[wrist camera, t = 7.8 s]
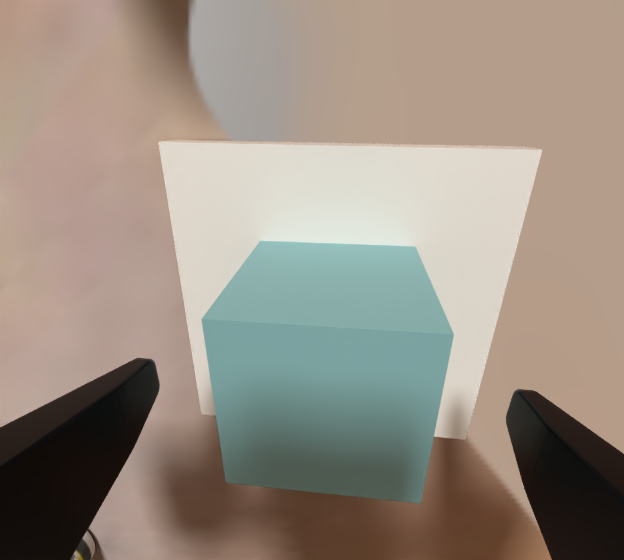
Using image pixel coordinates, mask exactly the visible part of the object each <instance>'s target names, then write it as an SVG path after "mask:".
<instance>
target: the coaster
mask: <svg viewBox="0 0 624 560" xmlns="http://www.w3.org/2000/svg"><path fill="white" fill-rule="evenodd" d="M159 148H160V155H161V161H162V167H163V174H164V180H165V186H166V193H167V199H168V205H169V211H170V218H171V224H172V230H173V237H174V243H175V249H176V256H177V262H178V268H179V275H180V281H181V287H182V293H183V300H184V306H185V312H186V319H187V325H188V331H189V338H190V344H191V350H192V357H193V363H194V369H195V375H196V382H197V388H198V394H199V401H200V407H201V413H202V414H203V415H213V416H216V414H215V407H214V400H213V394H212V387H211V380H210V374H209V367H208V360H207V354H206V347H205V340H204V334H203V327H202V320H201V319H202V318H203V316H204V315H205V314H206V312H207V311H208V310H209V308H210V307H211V306H212V304H213V303H214V302H215V300H216V299H217V298H218V296H219V295H220V294H221V292H222V291H223V290H224V288H225V287H226V286H227V284H228V283H229V282H230V280H231V279H232V278H233V276H234V275H235V274H236V272H237V271H238V270H239V268H240V267H241V266H242V264H243V263H244V262H245V260H246V259H247V258H248V256H249V255H250V254H251V252H252V251H253V250H254V248H255V247H256V246H257V244H258V243H259V242H260V241H282V242H309V243H336V244H363V245H390V246H415V247H416V249H417V251H418V253H419V256H420V258H421V260H422V263H423V265H424V267H425V269H426V272H427V274H428V276H429V278H430V281H431V283H432V285H433V288H434V290H435V292H436V294H437V297H438V299H439V301H440V304H441V306H442V308H443V310H444V313H445V315H446V317H447V319H448V322H449V324H450V326H451V329H452V331H453V333H454V337H453V342H452V347H451V352H450V357H449V362H448V368H447V373H446V378H445V383H444V388H443V393H442V398H441V403H440V408H439V413H438V418H437V423H436V428H435V433H434V437H443V438H453V439H464V440H466V436H467V433H468V429H469V425H470V421H471V418H472V414H473V410H474V406H475V402H476V399H477V395H478V391H479V387H480V384H481V380H482V376H483V372H484V368H485V365H486V361H487V357H488V353H489V350H490V346H491V342H492V338H493V334H494V331H495V326H496V323H497V319H498V316H499V311H500V308H501V304H502V300H503V297H504V293H505V289H506V285H507V281H508V278H509V274H510V270H511V266H512V263H513V258H514V255H515V251H516V247H517V244H518V240H519V236H520V233H521V229H522V225H523V221H524V217H525V214H526V210H527V206H528V202H529V199H530V195H531V191H532V187H533V183H534V179H535V176H536V172H537V168H538V165H539V161H540V157H541V153H542V150H540V149H535V148H530V147H517V146H516V147H513V146H512V147H511V146H465V145H414V144H364V143H313V142H311V143H310V142H263V141H258V142H257V141H213V140H168V141H162V142H159Z"/></svg>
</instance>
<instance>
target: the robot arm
mask: <svg viewBox="0 0 624 560" xmlns="http://www.w3.org/2000/svg"><path fill="white" fill-rule="evenodd" d="M159 387H160V384H159V379H158V374H157V369H156V365H155V362H154V361H153V360H152V359H145V358H136V359H134V360H132V361H130V362H128V363H126V364H124V365H122V366H120V367H118V368H116V369H115V370H113V371H111V372H109V373H107V374H105V375H103V376H101V377H99V378H97V379H95V380H93V381H91V382H89V383H87V384H85V385H83V386H81V387H79V388H77V389H75V390H73V391H71V392H69V393H67V394H65V395H63V396H61V397H59V398H57V399H55V400H54V401H52V402H50V403H48V404H46V405H44V406H42V407H40V408H38V409H36V410H34V411H32V412H30V413H28V414H26V415H24V416H22V417H20V418H18V419H16V420H14V421H12V422H10V423H8V424H6V425H4V426H2V427H0V560H70V559H71V558H72V556H73V554H74V552H75V551H76V549H77V547H78V545H79V544H80V542H81V540H82V538H83V537H84V535H85V533H86V531H87V530H88V528H89V526H90V524H91V522H92V521H93V519H94V517H95V515H96V514H97V512H98V510H99V508H100V507H101V505H102V503H103V501H104V500H105V498H106V496H107V494H108V493H109V491H110V489H111V487H112V485H113V484H114V482H115V480H116V478H117V477H118V475H119V473H120V471H121V470H122V468H123V466H124V464H125V463H126V461H127V459H128V457H129V455H130V454H131V452H132V450H133V448H134V446H135V444H136V442H137V440H138V438H139V435H140V433H141V431H142V429H143V426H144V424H145V422H146V420H147V417H148V415H149V413H150V411H151V408H152V406H153V404H154V402H155V399H156V397H157V395H158V392H159ZM506 424H507V428H508V432H509V435H510V439H511V442H512V446H513V450H514V453H515V457H516V461H517V464H518V468H519V471H520V475H521V479H522V482H523V485H524V489H525V491H526V494H527V497H528V499H529V502H530V505H531V507H532V510H533V512H534V515H535V518H536V520H537V523H538V525H539V528H540V530H541V533H542V535H543V538H544V541H545V543H546V546H547V548H548V551H549V553H550V556H551V558H552V560H624V454H623V453H622V452H620V451H619V450H618V449H616V448H615V447H613V446H612V445H611V444H609V443H608V442H606V441H605V440H603V439H602V438H601V437H599V436H598V435H597V434H595V433H594V432H592V431H591V430H590V429H588V428H587V427H585V426H584V425H583V424H581V423H580V422H578V421H577V420H575V419H574V418H573V417H571V416H570V415H569V414H567V413H566V412H564V411H563V410H561V409H560V408H559V407H557V406H556V405H554V404H553V403H552V402H550V401H549V400H547V399H546V398H545V397H543V396H542V395H540V394H539V393H538V392H536V391H533V390H523V389H518V390H516V391H515V392H514V393H513V396H512V399H511V402H510V405H509V408H508V411H507V415H506Z"/></svg>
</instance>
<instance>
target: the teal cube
mask: <svg viewBox="0 0 624 560" xmlns="http://www.w3.org/2000/svg"><path fill="white" fill-rule="evenodd" d="M201 320H202V327H203V334H204V340H205V347H206V354H207V360H208V367H209V374H210V380H211V387H212V394H213V400H214V407H215V414H216V420H217V427H218V434H219V440H220V447H221V454H222V460H223V467H224V474H225V480H226V483H232V484H241V485H251V486H260V487H269V488H279V489H288V490H297V491H307V492H316V493H325V494H335V495H344V496H353V497H363V498H372V499H381V500H391V501H400V502H409V503H419V504H421V499H422V494H423V489H424V484H425V479H426V474H427V469H428V464H429V459H430V454H431V449H432V444H433V439H434V433H435V428H436V423H437V418H438V413H439V408H440V403H441V398H442V393H443V388H444V383H445V378H446V373H447V368H448V362H449V357H450V352H451V347H452V342H453V337H454V333H453V331H452V329H451V326H450V324H449V322H448V319H447V317H446V315H445V313H444V310H443V308H442V306H441V304H440V301H439V299H438V297H437V294H436V292H435V290H434V288H433V285H432V283H431V281H430V278H429V276H428V274H427V272H426V269H425V267H424V265H423V263H422V260H421V258H420V256H419V253H418V251H417V249H416V247H415V246H390V245H363V244H336V243H309V242H282V241H260V242H259V243H258V244H257V246H256V247H255V248H254V250H253V251H252V252H251V254H250V255H249V256H248V258H247V259H246V260H245V262H244V263H243V264H242V266H241V267H240V268H239V270H238V271H237V272H236V274H235V275H234V276H233V278H232V279H231V280H230V282H229V283H228V284H227V286H226V287H225V288H224V290H223V291H222V292H221V294H220V295H219V296H218V298H217V299H216V300H215V302H214V303H213V304H212V306H211V307H210V308H209V310H208V311H207V312H206V314H205V315H204V316H203V318H202V319H201Z"/></svg>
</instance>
